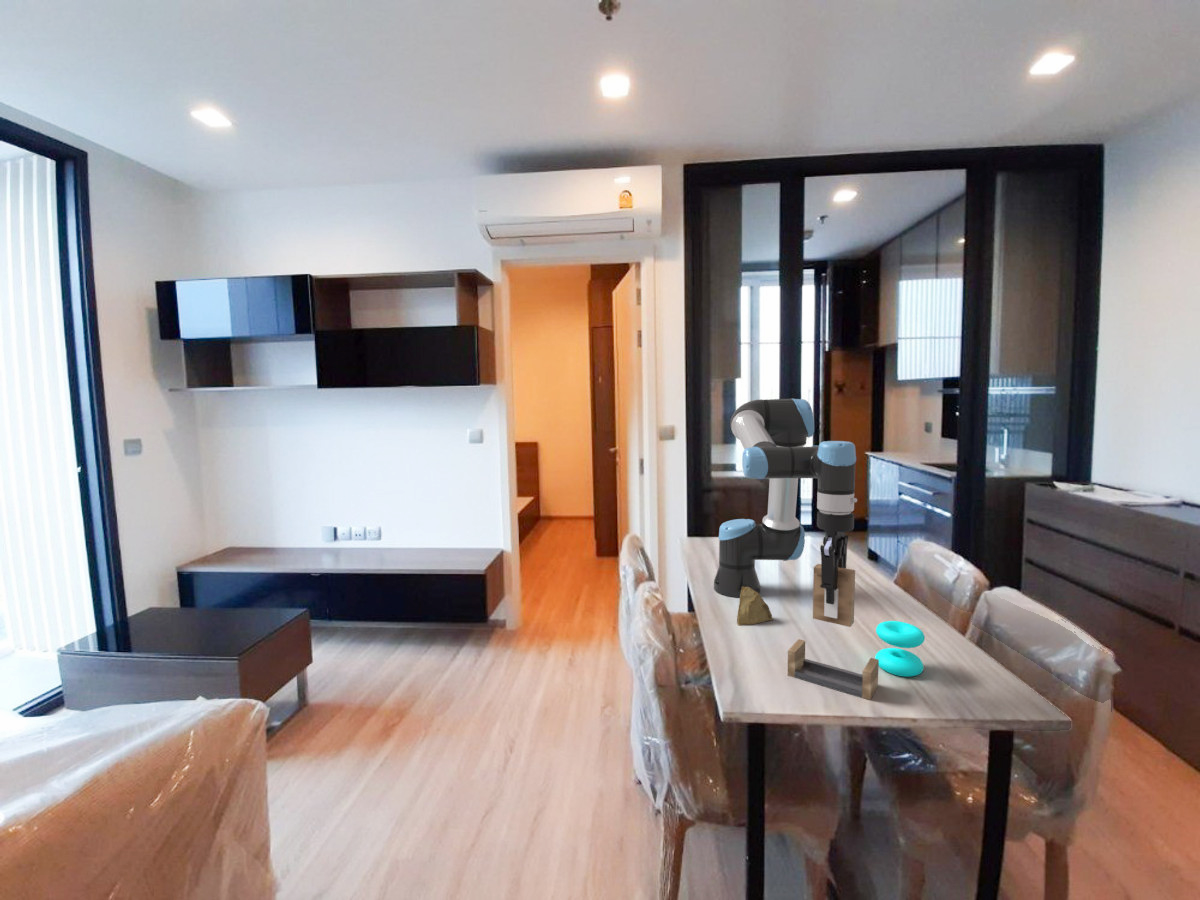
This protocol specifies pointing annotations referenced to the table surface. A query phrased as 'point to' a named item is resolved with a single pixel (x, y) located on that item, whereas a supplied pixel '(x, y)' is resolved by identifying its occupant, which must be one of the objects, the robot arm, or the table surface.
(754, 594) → the rock
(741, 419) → the robot arm
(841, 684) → the track
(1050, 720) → the table surface
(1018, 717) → the table surface
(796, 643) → the frame posts
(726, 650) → the table surface
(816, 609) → the door panel
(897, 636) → the donuts
